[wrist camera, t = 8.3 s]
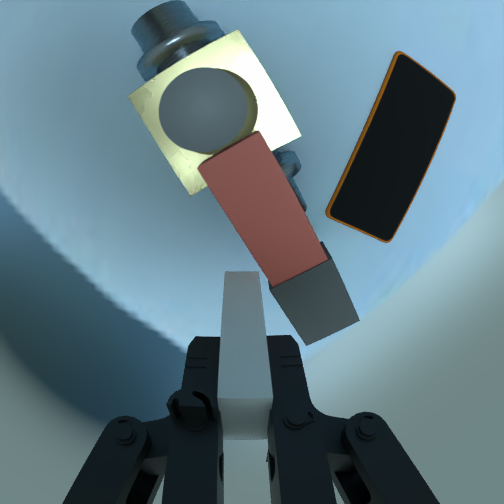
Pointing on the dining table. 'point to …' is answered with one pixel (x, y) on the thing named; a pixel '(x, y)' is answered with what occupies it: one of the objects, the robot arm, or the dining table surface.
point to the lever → (257, 200)
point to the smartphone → (393, 150)
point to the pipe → (215, 56)
